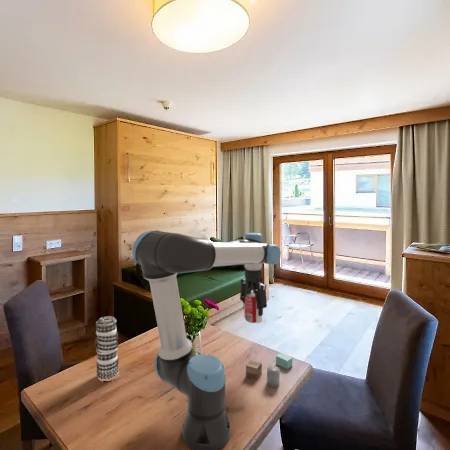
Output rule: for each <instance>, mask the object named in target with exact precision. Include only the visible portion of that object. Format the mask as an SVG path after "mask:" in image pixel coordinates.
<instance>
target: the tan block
mask: <svg viewBox="0 0 450 450" xmlns="http://www.w3.org/2000/svg"><path fill="white" fill-rule="evenodd" d="M262 364H263V363H262V362H260V361H257V360H254V359H250V361H248V362H247V364H245V377H247V378H250V379H253V380H256V381H258V380H259V378H260V377H261V376H262V374H263V373H262V372H263V371H262V370H263V368H262V367H263V365H262Z"/></svg>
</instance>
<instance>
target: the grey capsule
mask: <svg viewBox="0 0 450 450" xmlns="http://www.w3.org/2000/svg"><path fill="white" fill-rule="evenodd" d="M280 371H281V370H280V367H279V366H275V365H269V366H267V368H266V384H267V385H268V386H269V387H270V388H277V387H280V383H281V382H280V376H281V375H280V373H281V372H280Z"/></svg>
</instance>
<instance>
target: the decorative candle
mask: <svg viewBox="0 0 450 450" xmlns="http://www.w3.org/2000/svg"><path fill="white" fill-rule="evenodd" d="M117 321H118V320H117V318H115V317H114V316H111V315H107V316H102V317H100V318H99V319H98V320H97V321H96V322H95V326H96V331H95V332H94V339H95V341H94V344H95V346H94V347H96V349H95V352H96V353H97V359H96V360H97V361H96V377H98V378H101V379H110V378H112V377H114V376H116V375H117V374H118V373H120V372H119V370H120V369H119V368H120V367H119V366H120V365H119V357H118V348H119V341H118V339H119V336H118V335H119V332H118V331H117V330H118V329H117Z"/></svg>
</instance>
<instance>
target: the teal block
mask: <svg viewBox="0 0 450 450" xmlns="http://www.w3.org/2000/svg"><path fill="white" fill-rule="evenodd" d="M293 360H294V359H293V357H292V356H289V355H287V354H285V353H282V352H280V353H278V354H277V355H276V356H275V365H277V366H278V367H281V368H282V369H285V370H289V369H290V368H291V366H292V367H293Z"/></svg>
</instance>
